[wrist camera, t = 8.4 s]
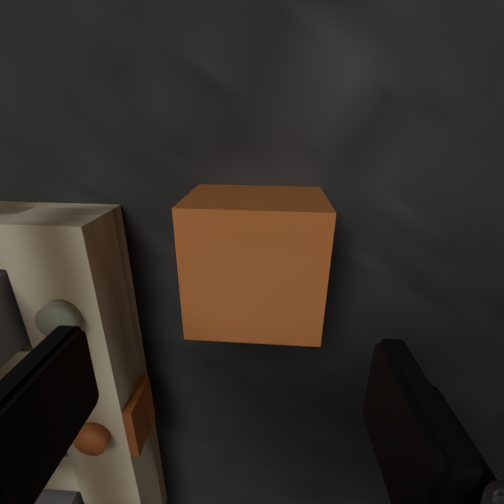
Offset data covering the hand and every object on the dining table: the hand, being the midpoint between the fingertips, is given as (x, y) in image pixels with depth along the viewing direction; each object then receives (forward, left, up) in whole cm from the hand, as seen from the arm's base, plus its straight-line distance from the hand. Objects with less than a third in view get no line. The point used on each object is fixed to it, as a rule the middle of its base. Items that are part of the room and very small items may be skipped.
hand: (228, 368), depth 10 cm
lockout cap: (0, -1, -9) cm, 9 cm away
